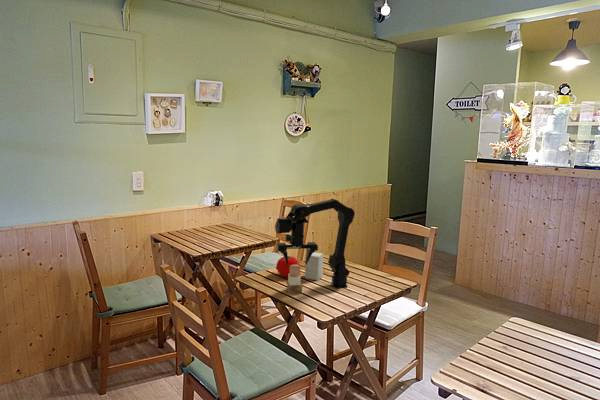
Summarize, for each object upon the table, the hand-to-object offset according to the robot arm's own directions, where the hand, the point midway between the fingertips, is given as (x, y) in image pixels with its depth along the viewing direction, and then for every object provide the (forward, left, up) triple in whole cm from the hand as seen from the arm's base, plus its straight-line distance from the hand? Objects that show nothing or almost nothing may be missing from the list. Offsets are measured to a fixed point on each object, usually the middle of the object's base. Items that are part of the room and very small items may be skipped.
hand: (296, 264), depth 196 cm
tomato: (0, -21, -13) cm, 25 cm away
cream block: (+1, +1, -9) cm, 9 cm away
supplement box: (-13, -17, -13) cm, 25 cm away
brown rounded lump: (+1, +1, -5) cm, 5 cm away
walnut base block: (+1, +1, -13) cm, 13 cm away
